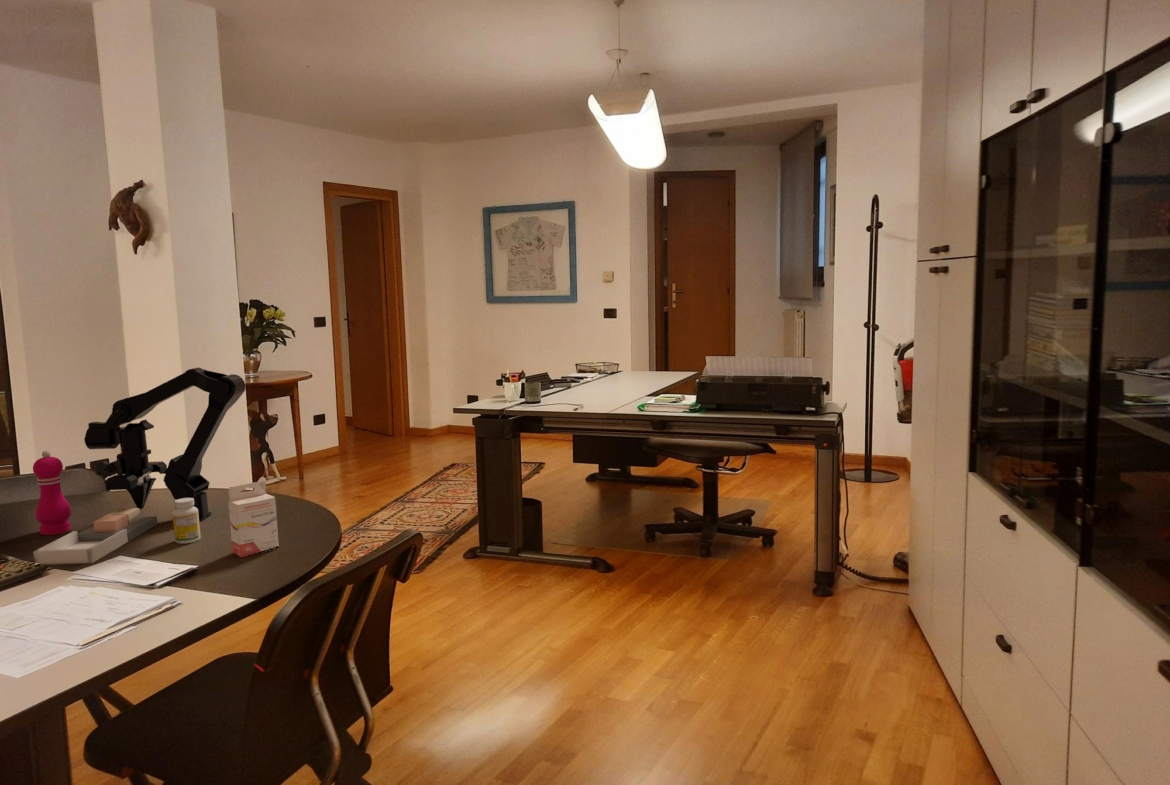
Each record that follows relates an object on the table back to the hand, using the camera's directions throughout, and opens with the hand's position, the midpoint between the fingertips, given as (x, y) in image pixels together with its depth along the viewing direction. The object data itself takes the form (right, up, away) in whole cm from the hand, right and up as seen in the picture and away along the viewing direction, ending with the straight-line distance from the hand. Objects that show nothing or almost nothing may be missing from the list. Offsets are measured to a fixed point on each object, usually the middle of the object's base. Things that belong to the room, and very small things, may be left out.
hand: (140, 508), depth 200 cm
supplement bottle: (+20, -5, -17) cm, 27 cm away
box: (+1, -6, -24) cm, 25 cm away
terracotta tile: (0, -3, -13) cm, 13 cm away
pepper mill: (-17, -5, -7) cm, 19 cm away
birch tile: (0, -2, -7) cm, 8 cm away
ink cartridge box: (+40, -6, -25) cm, 47 cm away
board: (0, -4, -10) cm, 11 cm away
